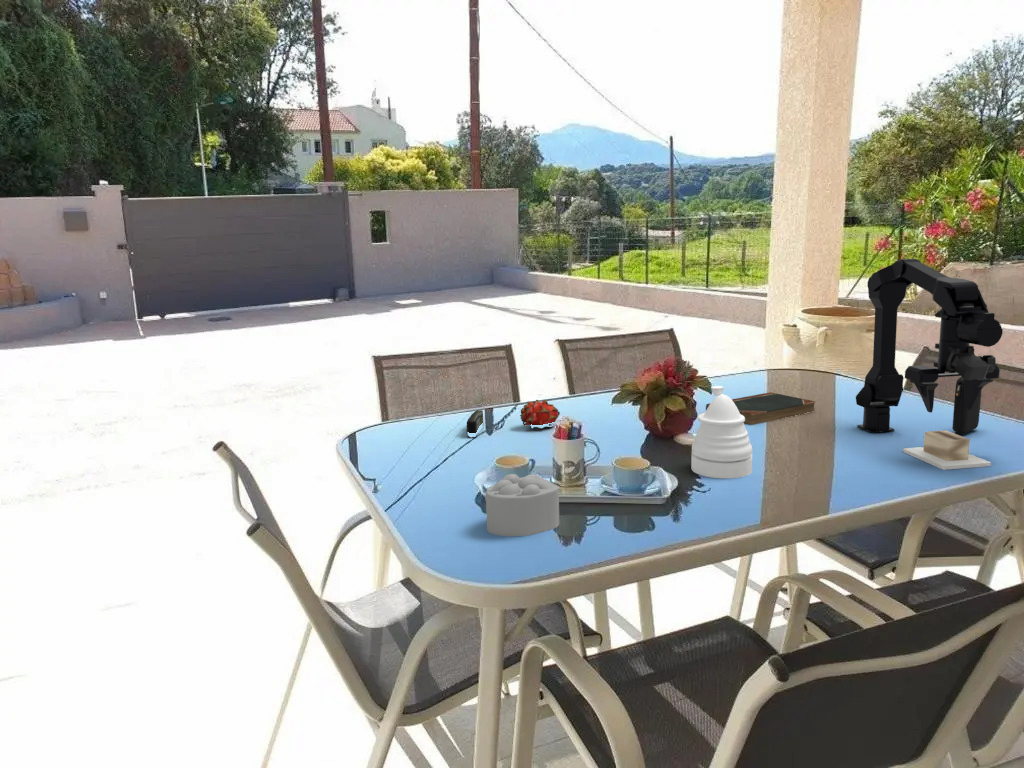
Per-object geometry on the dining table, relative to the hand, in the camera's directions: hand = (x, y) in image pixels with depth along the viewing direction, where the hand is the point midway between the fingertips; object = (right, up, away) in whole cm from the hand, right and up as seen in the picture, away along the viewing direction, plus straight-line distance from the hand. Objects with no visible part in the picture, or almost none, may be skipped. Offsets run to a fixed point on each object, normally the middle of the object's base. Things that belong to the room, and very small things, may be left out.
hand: (949, 410), depth 175 cm
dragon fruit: (-88, -6, +41) cm, 97 cm away
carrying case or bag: (+16, -6, +22) cm, 28 cm away
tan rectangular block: (0, -10, +2) cm, 10 cm away
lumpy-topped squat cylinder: (-94, -20, -28) cm, 100 cm away
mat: (0, -11, +2) cm, 11 cm away
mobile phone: (-105, -7, +39) cm, 112 cm away
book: (-26, -3, +49) cm, 56 cm away
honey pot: (-50, -13, 0) cm, 51 cm away
